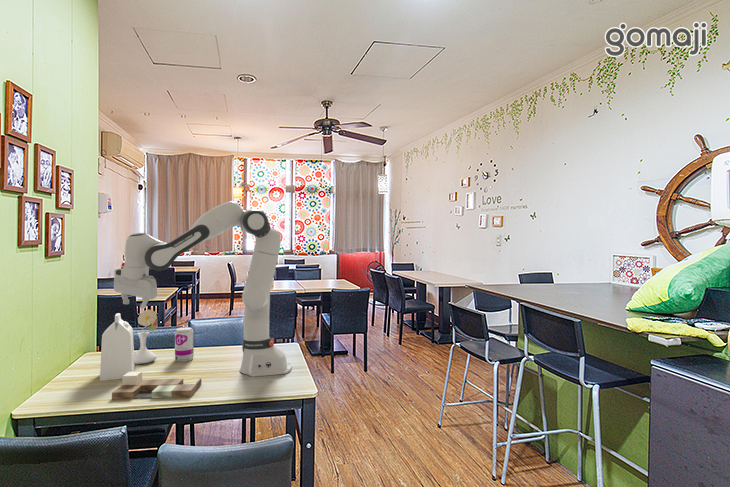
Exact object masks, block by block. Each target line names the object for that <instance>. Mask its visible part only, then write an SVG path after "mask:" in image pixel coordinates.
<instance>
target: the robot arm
mask: <svg viewBox="0 0 730 487" xmlns="http://www.w3.org/2000/svg"><path fill="white" fill-rule="evenodd" d="M234 227H239V228H241V229H242V230H243V231H245V232H246V233H248V234H250V235H253V236H254V237H255V244H254V248H253V251H252V256H251V261H250V266H249V269H248V273H247V276H246V280H245V284H244V288H243V291H242V295H241V300H242V303H243V306H244V315H243V339H242V344H241V345H242V348H241V349H242V358H241V359H242V360H241V365H240V368H239V372H240V373H242V374H244V375H248V376H249V377H263V376H273V375H274V376H275V375H284V374H288V373H290V371H291V370H292V368H293V367H292V364H291V363H290V362H288V361H287V356H286V354H285V352H283V351H282V350H280V348H277V347H276V346H275V345H274V344H275V340H274V338H272V337H270V309H271V289H272V284H273V280H274V276H275V273H276V268H277V263H278V260H279V255H280V250H281V249H280V248H281V242H282V241H281V238H282V236H281V234H280V232H279V231H278V230H276V229H274V228H272V227H271V225H270V222H269V219H268V216H267V215H266V213H265V212H264V211H263V210H260V209H257V208H250V209H243V208H242V207H241V205H240V204H239V203H237V202H236V201H233V200H230V201H226V202H223V203H220V204H219V205H217V206H214V207H212V208H211V209H209V210H207V211H206V212H204V213H203V214H202V215H200V216H199V217H198V218H197V219H196V220H195V222H194V223H193V224H192V226H191V227H190V228H189V229H188V230H187V231H186V232H183V233H182V234H181V235H179V236H177V237H175V238H174V239H173V240H172V241H169V242H165V241H162V240H159V239H157V238H155V237H153V236H151V235H150V234H149V233H148V232H137V233H133V234H130V235H129V236H127V237H126V238H127V239H126V242H125V248H124V257H125V262H124V264H123V267H122V268H118V269H114V271H113V272H114V273H113V274H114V277H113V290H114V291H115V292H116V293H120V296H121V298H122V304H123V305H130V299H129V297H128V295H129V296H133V297H137V298H141V299H142V303H140V304H139V308H140V309H143V310H145V309H146V308H147V304H148V302H149V301H150V300H152V299H153V300H154V299H156V297H157V296H158V287H157V279H156V278H155V277H154V276H153V275H149V271H150V269H151V270H153V271H156V272H163V271H165V270H168V269H169V268H170V267H171V266H172V265H173V263H174V262H175V261H176V259H177V258H178V257H179V256H181V255H182V254H184V253H185V252H187V251H189V250H190V249H192V248H193V247H195V246H197V245H198V244H201V243H203V242H206V241H209V240H211V239H213V238H215V237H218V236H220V235H222V234H225V232H227V231H229V230H230V229H232V228H234Z"/></svg>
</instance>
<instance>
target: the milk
mask: <svg viewBox="0 0 730 487" xmlns="http://www.w3.org/2000/svg"><path fill="white" fill-rule="evenodd" d="M134 342H135V341H134V329H133V327H132V326H131V325H130V324H129V322H128V321H126V320H125V321H124V320H123V319H122V317H121V313H120V312H118V313H115V315H114V322H112V324H110V325H109V326H108V327H107V328H106V329H105V330H104V331H103V333H102V335H101V346H100V347H101V349H100V371H99V372H100V373H99V381H100V382H103V381H112V380H120V379H121V378H122V379H123V376H124V375H125V374H126V373H128V372H135V366H136V364H134V354H135V348H134Z"/></svg>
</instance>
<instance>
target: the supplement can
mask: <svg viewBox="0 0 730 487" xmlns="http://www.w3.org/2000/svg"><path fill="white" fill-rule="evenodd" d="M193 359H194V329H193V327H191V326H183V327H177V328H176V330H175V331H174V360H175V361H176V362H178V363H179V362H181V363H183V362H185V363H186V362H190V361H192V360H193Z"/></svg>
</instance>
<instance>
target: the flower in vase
mask: <svg viewBox="0 0 730 487" xmlns="http://www.w3.org/2000/svg"><path fill="white" fill-rule="evenodd" d="M157 318H158V315H157V312H156V311H155V310H152V309H146V310H145V309H144V311H141V312H140V314H139V316H138V317H137V321H138V324H139V325H141V326H144V327H147V328H146V329H145V328H142V327H139V326H138V329H141V330H143V332H142V331H141V332H137V333H136V334H137V336H138V338H139V342H140V347H139V349H138V350H137V351H136V352H134V365H142V364H148V363H151V362H153V361H155V360H156V359H157V357H158V356H157V355H156V354H155V353H154V352H152V351H151V350H150V349H148V348H147V337H148V335H149V334H150V332H153V331H157V330H158V328H156V326H155V325H153V324H154V323H155V321H156V320H157ZM147 330H149V331H150V332H149V331H147Z"/></svg>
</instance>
